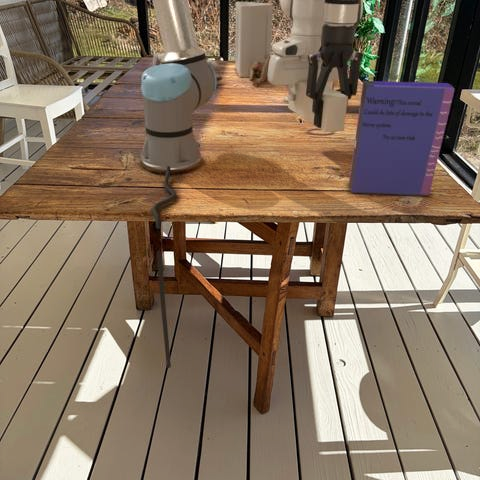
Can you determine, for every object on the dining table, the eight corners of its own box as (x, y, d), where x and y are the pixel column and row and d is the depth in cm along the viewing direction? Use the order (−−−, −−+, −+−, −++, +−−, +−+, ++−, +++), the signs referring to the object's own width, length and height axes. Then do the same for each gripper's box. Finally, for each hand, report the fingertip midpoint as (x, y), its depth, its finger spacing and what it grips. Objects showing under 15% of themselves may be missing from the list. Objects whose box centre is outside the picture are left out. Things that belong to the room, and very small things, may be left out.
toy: (172, 75, 209) (171, 59, 206) (148, 65, 227) (147, 49, 223) (219, 69, 221) (219, 54, 218) (193, 60, 239) (193, 45, 235)
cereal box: (423, 187, 112) (447, 82, 100) (428, 195, 108) (454, 87, 96) (348, 184, 113) (363, 79, 101) (351, 192, 109) (367, 85, 96)
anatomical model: (260, 88, 207) (256, 89, 193) (245, 74, 206) (240, 74, 192) (280, 65, 202) (277, 65, 188) (265, 51, 201) (261, 49, 187)
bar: (343, 130, 118) (348, 96, 113) (325, 132, 116) (328, 97, 112) (304, 106, 136) (307, 76, 131) (288, 108, 134) (290, 77, 130)
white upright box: (273, 76, 210) (276, 6, 196) (239, 77, 209) (240, 6, 194) (266, 67, 226) (268, 2, 212) (235, 67, 225) (235, 1, 210)
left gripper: (365, 21, 113) (352, 117, 125) (295, 23, 108) (288, 123, 120) (383, 25, 107) (367, 126, 119) (310, 27, 102) (301, 133, 114)
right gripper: (336, 42, 129) (331, 94, 136) (266, 45, 123) (264, 99, 130) (348, 46, 124) (341, 99, 131) (275, 49, 118) (273, 105, 125)
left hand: (327, 124), depth 120 cm, fingers closed on bar, 5 cm apart
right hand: (302, 99), depth 130 cm, fingers closed on bar, 5 cm apart
